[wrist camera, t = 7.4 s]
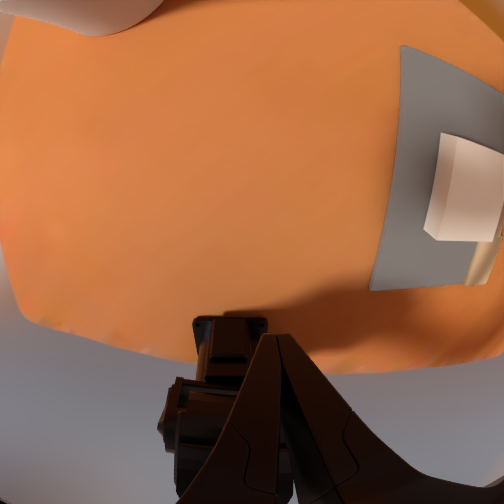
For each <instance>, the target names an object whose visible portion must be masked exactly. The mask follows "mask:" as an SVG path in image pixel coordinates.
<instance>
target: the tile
mask: <svg viewBox="0 0 504 504" xmlns="http://www.w3.org/2000/svg"><path fill="white" fill-rule="evenodd" d="M503 203H504V155H503V154H501V153H499V152H496V151H494V150H491V149H489V148H487V147H484V146H482V145H479V144H476V143H474V142H471V141H468V140H465V139H463V138H460V137H457V136H453V135H449V134H445V133H441V135H440V144H439V152H438V159H437V166H436V172H435V178H434V183H433V189H432V194H431V199H430V203H429V208H428V212H427V216H426V221H425V225H424V230H425V231H426V232H427V233H428V234H430V235H431V236H432V237H433V238H434V239H435V240H439V241H477V242H492V241H493V238H494V235H495V232H496V228H497V225H498V222H499V218H500V214H501V211H502V207H503Z"/></svg>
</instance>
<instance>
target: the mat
mask: <svg viewBox="0 0 504 504" xmlns="http://www.w3.org/2000/svg"><path fill="white" fill-rule="evenodd" d="M400 50H401V87H400V109H399V124H398V135H397V145H396V153H395V161H394V169H393V176H392V182H391V189H390V194H389V200H388V206H387V211H386V216H385V221H384V226H383V230H382V235H381V239H380V244H379V248H378V252H377V256H376V260H375V264H374V268H373V272H372V275H371V279H370V282H369V286H368V288H369V290H370V291H383V290H397V289H409V288H421V287H432V286H442V285H452V284H461V283H463V281H464V278H465V276H466V273H467V271H468V268H469V266H470V263H471V260H472V257H473V255H474V252H475V249H476V246H477V243H478V242H477V241H439V240H435V239H434V238H433V237H432V236H431V235H430V234H428V233H427V232H426V231H425V230H424V225H425V221H426V216H427V212H428V208H429V203H430V199H431V194H432V189H433V183H434V178H435V172H436V166H437V159H438V152H439V144H440V135H441V133H445V134H449V135H453V136H457V137H460V138H463V139H465V140H468V141H471V142H474V143H476V144H479V145H482V146H484V147H487V148H489V149H491V150H494V151H496V152H499V153H501V154H503V155H504V94H502V93H501V92H499V91H498V90H496V89H495V88H493V87H491V86H490V85H488V84H487V83H485V82H483V81H481V80H480V79H478V78H476V77H474V76H473V75H471V74H469V73H467V72H465V71H463V70H461V69H459V68H457V67H455V66H453V65H451V64H449V63H447V62H445V61H443V60H441V59H438V58H436V57H434V56H431V55H429V54H427V53H424V52H422V51H419V50H417V49H414V48H411V47H408V46H406V45H403V46H400Z"/></svg>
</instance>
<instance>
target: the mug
mask: <svg viewBox="0 0 504 504" xmlns="http://www.w3.org/2000/svg"><path fill="white" fill-rule="evenodd" d="M163 1H164V0H0V13H5V14H11V15H16V16H21V17H25V18H30V19H34V20H38V21H42V22H46V23H49V24H53V25H56V26H59V27H62V28H65V29H68V30H71V31H73V32H76V33H79V34H82V35H86V36H107V35H111V34H115V33H118V32H121V31H123V30H125V29H128V28H130V27H131V26H133V25H135V24H137V23H138V22H140V21H141V20H143V19H144V18H146V17H147V16H148V15H150V14H151V13H152V12H153V11H154V10H155V9H156V8H157V7H158V6H159V5H160V4H161V3H162V2H163Z"/></svg>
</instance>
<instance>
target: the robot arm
mask: <svg viewBox="0 0 504 504" xmlns="http://www.w3.org/2000/svg"><path fill="white" fill-rule="evenodd" d="M197 323H199V324H197ZM260 323H264V324H260ZM192 326H193V332H194V337H195V343H196V348H197V354H198V363H197V371H196V379H195V380H189V379H184V378H182V377H176V381H175V384H173V385H172V387H171V388H169V390H168V395H167V401H166V405H165V408H164V410H163V412H162V415H161V417H160V420H159V422H158V427H157V430H158V431H159V433H160V434H161V435H162V436H163V441H164V443H165V450H166V452H167V453H173V454H175V455H174V483H175V485H176V492H177V495H178V496H179V498H180V499H179V500H178V501H177V502H176V504H288V502H289V501H290V499H291V498H292V496H293V479H294V484H295V488H296V494H297V498H298V503H299V504H504V476H502V477H501V478H499V479H497V480H496V481H494V482H492V483H490V484H488V485H487V486H485V487H475V486H469V485H464V484H460V483H455V482H451V481H446V480H442V479H438V478H435V477H431V476H428V475H425V474H423V473H421V472H419V471H417V470H416V469H414V468H413V467H412V466H410V465H409V464H408V463H407V462H406V461H404V460H403V459H402V458H401V457H400V456H399V455H397V454H396V453H395V452H394V451H393V450H392V449H391V448H389V447H388V446H387V445H386V444H385V443H384V442H383V441H381V440H380V439H379V438H378V437H377V436H376V435H375V434H374V433H373V432H372V431H371V430H370V429H369V428H368V427H367V426H366V424H365V423H364V422H363V421H362V420H361V419H360V418H359V416H358V415H357V414H356V413H355V412H354V411H352V408H351V407H350V406H349V405H348V403H347V402H346V401H345V400H344V399H343V398H342V396H341V395H340V394H339V393H338V392H337V390H336V389H335V388H334V387H333V385H332V384H331V383H330V382H329V381H328V379H327V378H326V377H325V376H324V375H323V373H322V372H321V371H320V370H319V368H318V367H317V366H316V365H315V364H314V362H313V361H312V360H311V359H310V357H309V356H308V355H307V354H306V352H305V351H304V350H303V349H302V348H301V346H300V345H299V344H298V343H297V341H296V340H295V339H294V338H293V336H292V335H291V334H290V333H277V334H275V333H267V329H268V322H267V320H266V319H265V318H195V319H194V320H193V323H192ZM0 504H11V503H10V502H8V501H6V500H4V499H2V498H0Z"/></svg>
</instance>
